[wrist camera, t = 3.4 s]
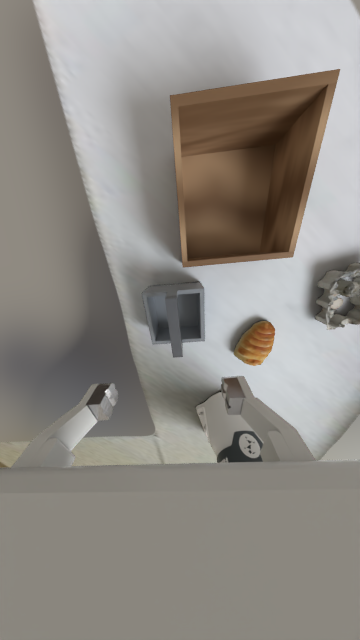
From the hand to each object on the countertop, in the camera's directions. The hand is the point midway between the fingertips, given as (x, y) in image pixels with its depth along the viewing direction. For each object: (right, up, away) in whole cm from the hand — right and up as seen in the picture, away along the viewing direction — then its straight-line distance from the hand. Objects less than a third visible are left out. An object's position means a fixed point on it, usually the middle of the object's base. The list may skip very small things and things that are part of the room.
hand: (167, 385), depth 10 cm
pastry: (+16, 0, +19) cm, 25 cm away
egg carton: (+29, +9, +15) cm, 34 cm away
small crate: (0, +7, +16) cm, 17 cm away
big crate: (+7, +20, +9) cm, 23 cm away
